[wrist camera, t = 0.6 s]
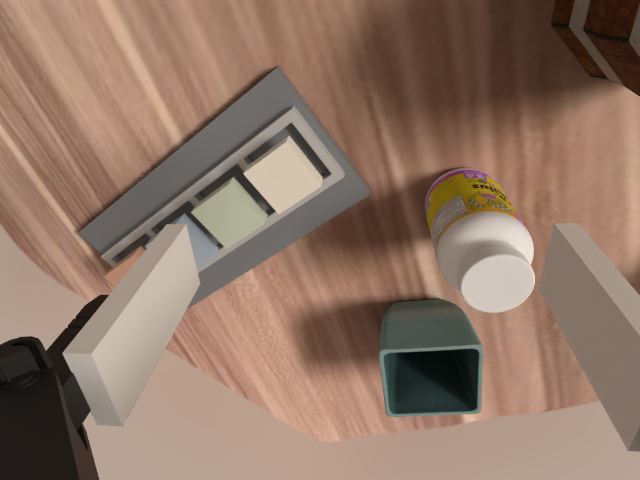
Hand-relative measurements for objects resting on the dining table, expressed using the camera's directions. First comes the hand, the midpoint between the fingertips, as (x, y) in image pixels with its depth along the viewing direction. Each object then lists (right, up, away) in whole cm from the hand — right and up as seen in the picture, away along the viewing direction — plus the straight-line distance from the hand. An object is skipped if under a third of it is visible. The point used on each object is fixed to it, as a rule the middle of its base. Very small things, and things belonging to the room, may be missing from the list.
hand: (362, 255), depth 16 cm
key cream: (-4, +6, +20) cm, 21 cm away
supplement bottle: (+11, +4, +23) cm, 26 cm away
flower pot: (+9, -8, +31) cm, 33 cm away
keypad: (-11, +4, +26) cm, 28 cm away
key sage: (-9, +3, +22) cm, 24 cm away
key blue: (-14, 0, +24) cm, 28 cm away
